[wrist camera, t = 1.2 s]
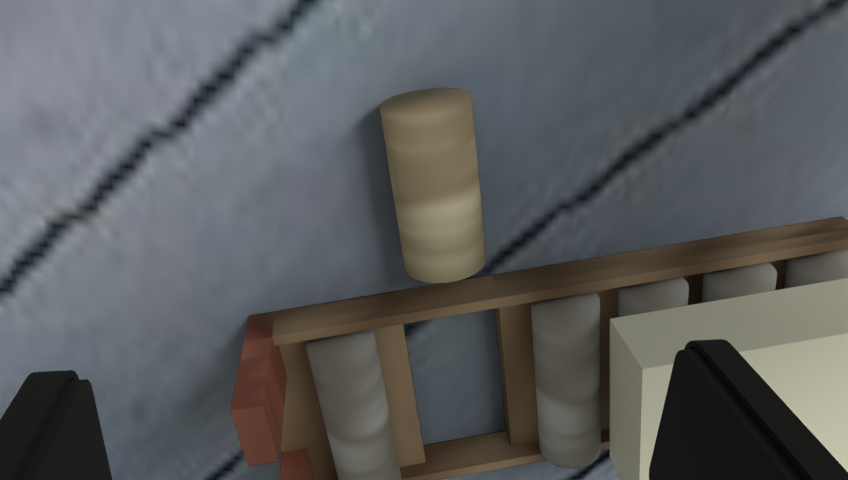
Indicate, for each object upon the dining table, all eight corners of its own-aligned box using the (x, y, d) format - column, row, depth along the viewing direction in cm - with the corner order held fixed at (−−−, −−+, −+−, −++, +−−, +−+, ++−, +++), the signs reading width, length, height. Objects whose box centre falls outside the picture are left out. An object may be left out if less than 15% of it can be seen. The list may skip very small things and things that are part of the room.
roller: (376, 96, 28) (382, 121, 25) (463, 83, 28) (479, 106, 25) (401, 249, 31) (408, 289, 28) (478, 236, 31) (494, 274, 28)
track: (841, 216, 33) (950, 286, 27) (812, 383, 37) (900, 472, 32) (249, 315, 31) (230, 411, 26) (294, 475, 36) (287, 587, 30)
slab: (879, 272, 30) (942, 316, 27) (850, 413, 34) (902, 466, 31) (609, 318, 30) (642, 369, 26) (609, 457, 33) (638, 515, 30)
